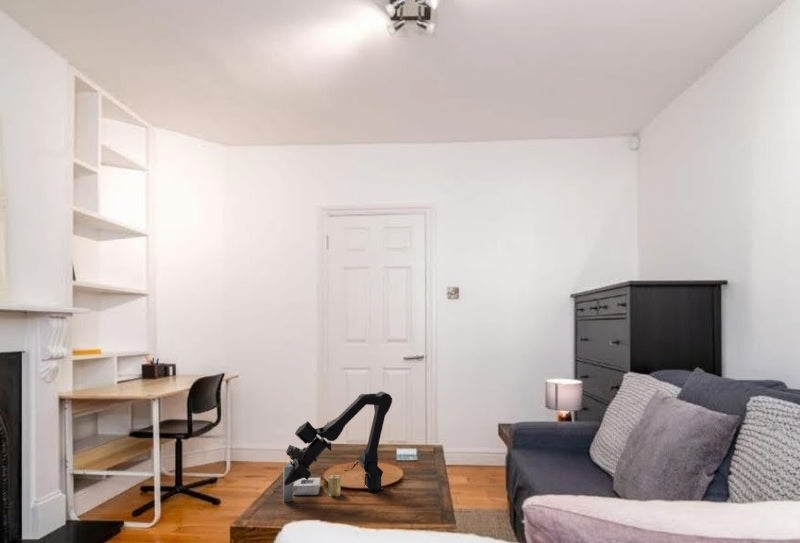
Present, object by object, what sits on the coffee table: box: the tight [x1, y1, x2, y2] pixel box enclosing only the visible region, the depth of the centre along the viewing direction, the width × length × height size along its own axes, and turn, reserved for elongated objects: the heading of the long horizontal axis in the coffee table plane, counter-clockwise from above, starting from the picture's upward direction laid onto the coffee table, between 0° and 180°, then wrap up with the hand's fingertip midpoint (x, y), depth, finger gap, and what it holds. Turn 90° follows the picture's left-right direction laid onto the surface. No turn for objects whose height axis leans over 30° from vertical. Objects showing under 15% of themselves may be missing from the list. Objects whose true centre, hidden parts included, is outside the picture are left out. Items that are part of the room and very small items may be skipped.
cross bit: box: [327, 474, 341, 498], centre depth 207 cm, size 5×5×7 cm
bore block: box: [293, 477, 321, 496], centre depth 212 cm, size 10×10×4 cm
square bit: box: [282, 463, 294, 503], centre depth 201 cm, size 3×3×13 cm
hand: (284, 483), depth 201 cm, fingers closed on square bit, 3 cm apart
